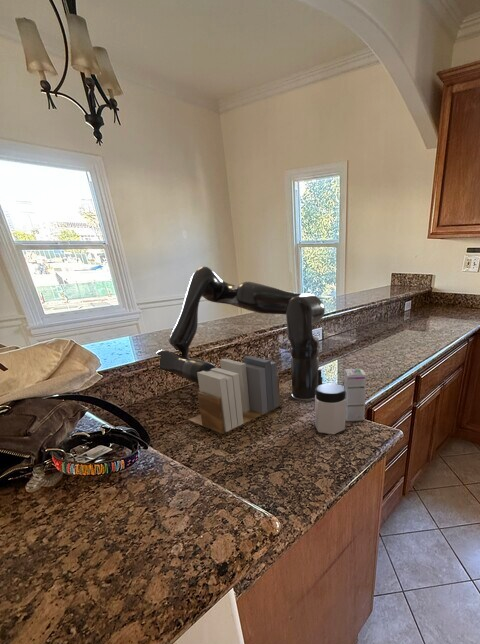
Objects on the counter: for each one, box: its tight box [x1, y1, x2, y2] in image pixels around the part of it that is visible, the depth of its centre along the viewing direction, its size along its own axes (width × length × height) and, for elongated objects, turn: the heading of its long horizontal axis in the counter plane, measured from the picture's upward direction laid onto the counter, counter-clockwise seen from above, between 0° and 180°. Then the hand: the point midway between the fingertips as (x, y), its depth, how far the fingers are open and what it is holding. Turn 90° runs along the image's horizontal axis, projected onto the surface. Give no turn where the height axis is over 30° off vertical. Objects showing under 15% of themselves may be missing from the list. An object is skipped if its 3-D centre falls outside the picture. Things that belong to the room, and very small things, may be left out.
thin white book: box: [219, 358, 250, 413], centre depth 107 cm, size 2×9×15 cm, turn 55°
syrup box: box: [343, 368, 367, 422], centre depth 104 cm, size 6×6×14 cm
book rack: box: [188, 374, 282, 435], centre depth 106 cm, size 24×15×11 cm, turn 145°
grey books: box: [242, 355, 280, 415], centre depth 108 cm, size 7×9×16 cm
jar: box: [314, 382, 346, 435], centre depth 98 cm, size 9×8×12 cm
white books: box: [197, 367, 244, 433], centre depth 97 cm, size 6×9×15 cm
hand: (235, 382), depth 106 cm, fingers closed on thin white book, 2 cm apart
